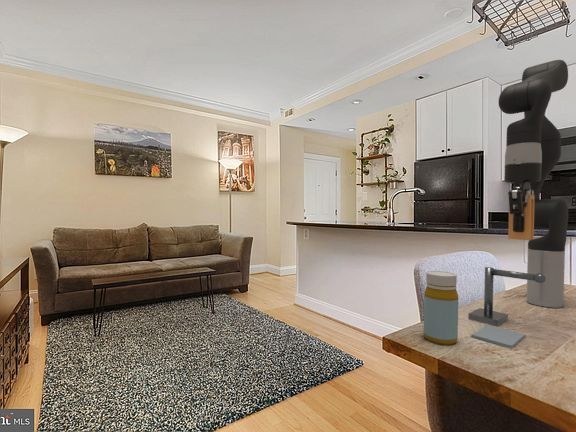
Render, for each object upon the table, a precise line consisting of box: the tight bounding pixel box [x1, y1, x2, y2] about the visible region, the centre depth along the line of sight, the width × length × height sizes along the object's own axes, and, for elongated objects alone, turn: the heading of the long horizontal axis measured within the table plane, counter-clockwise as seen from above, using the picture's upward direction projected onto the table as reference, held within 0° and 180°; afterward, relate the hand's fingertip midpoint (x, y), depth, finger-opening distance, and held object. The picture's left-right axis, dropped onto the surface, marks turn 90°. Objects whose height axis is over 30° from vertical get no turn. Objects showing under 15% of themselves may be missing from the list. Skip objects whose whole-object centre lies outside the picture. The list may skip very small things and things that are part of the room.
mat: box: [470, 324, 526, 349], centre depth 75 cm, size 10×8×1 cm
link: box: [507, 195, 535, 241], centre depth 82 cm, size 4×4×11 cm
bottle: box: [422, 270, 459, 346], centre depth 74 cm, size 7×7×15 cm
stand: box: [467, 266, 546, 327], centre depth 84 cm, size 8×16×14 cm, turn 40°
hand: (521, 231), depth 82 cm, fingers closed on link, 4 cm apart
